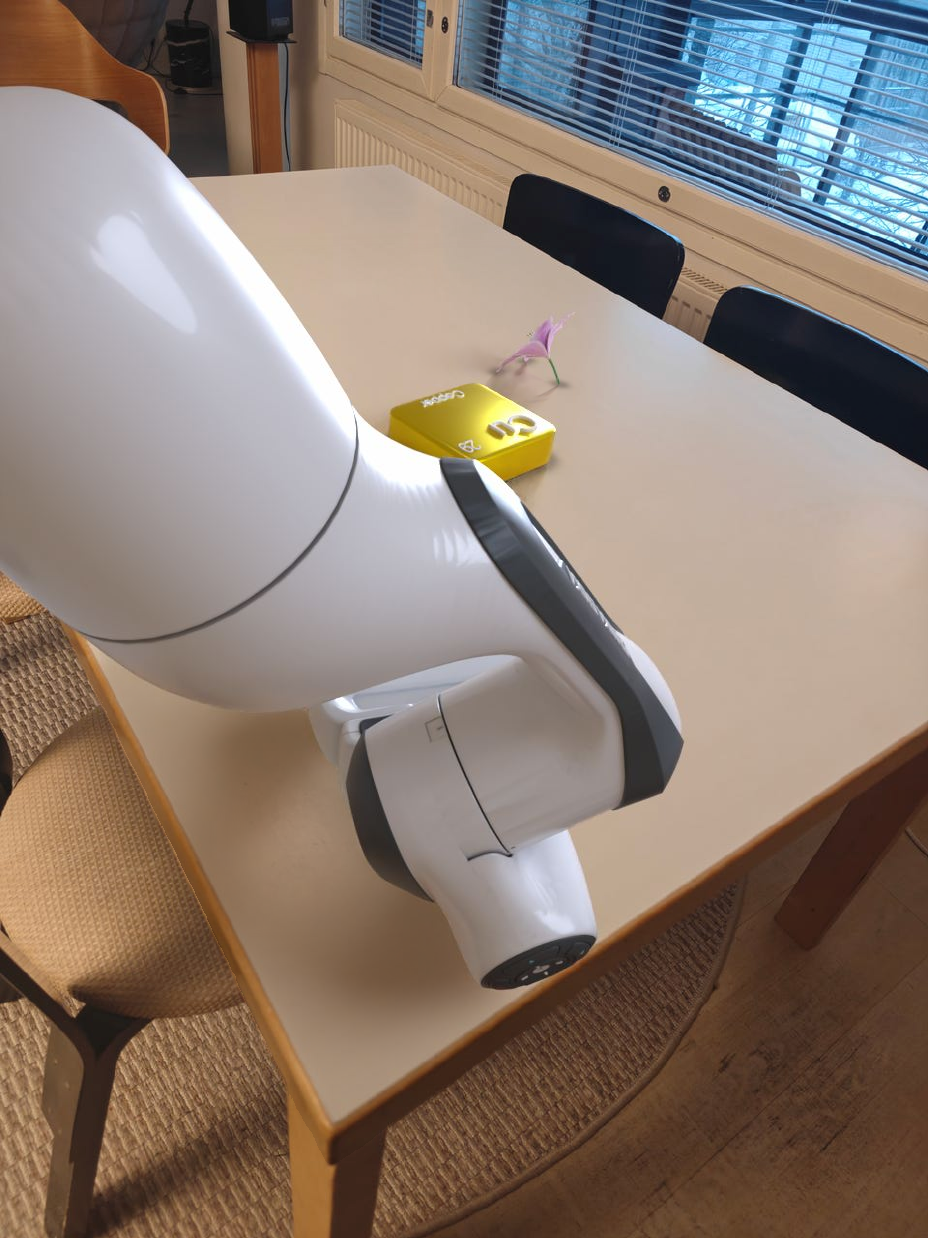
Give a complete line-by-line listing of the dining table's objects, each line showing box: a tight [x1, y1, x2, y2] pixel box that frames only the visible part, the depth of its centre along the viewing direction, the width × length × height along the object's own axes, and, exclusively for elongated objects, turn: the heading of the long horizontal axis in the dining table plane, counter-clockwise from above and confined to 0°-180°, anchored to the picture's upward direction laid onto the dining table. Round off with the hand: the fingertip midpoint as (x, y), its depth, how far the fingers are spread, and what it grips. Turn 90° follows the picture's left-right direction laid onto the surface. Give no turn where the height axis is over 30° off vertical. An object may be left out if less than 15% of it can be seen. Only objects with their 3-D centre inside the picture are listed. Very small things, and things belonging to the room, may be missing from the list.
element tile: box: [387, 382, 556, 483], centre depth 101 cm, size 15×15×5 cm
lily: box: [495, 311, 576, 385], centre depth 118 cm, size 12×12×10 cm
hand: (422, 623), depth 69 cm, fingers open, 8 cm apart
